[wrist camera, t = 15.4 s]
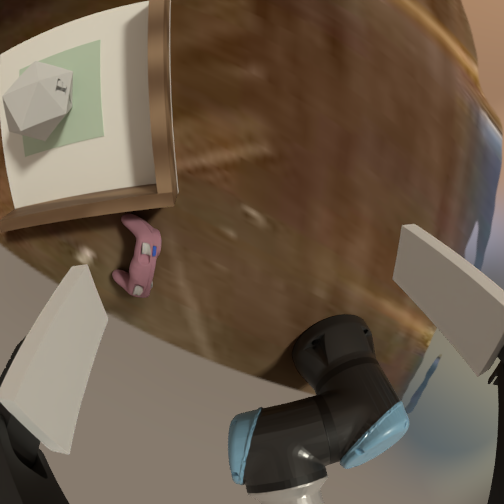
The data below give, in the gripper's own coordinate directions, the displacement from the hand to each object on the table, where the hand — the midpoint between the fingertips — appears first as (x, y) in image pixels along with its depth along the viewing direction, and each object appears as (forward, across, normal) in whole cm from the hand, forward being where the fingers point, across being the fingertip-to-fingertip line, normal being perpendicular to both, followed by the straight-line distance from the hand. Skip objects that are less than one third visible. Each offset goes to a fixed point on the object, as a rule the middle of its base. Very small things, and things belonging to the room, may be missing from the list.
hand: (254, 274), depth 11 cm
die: (+22, +19, -12) cm, 32 cm away
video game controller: (+24, +12, +9) cm, 28 cm away
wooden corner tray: (+23, +17, -10) cm, 31 cm away
